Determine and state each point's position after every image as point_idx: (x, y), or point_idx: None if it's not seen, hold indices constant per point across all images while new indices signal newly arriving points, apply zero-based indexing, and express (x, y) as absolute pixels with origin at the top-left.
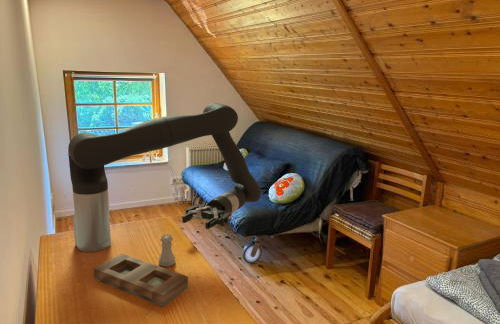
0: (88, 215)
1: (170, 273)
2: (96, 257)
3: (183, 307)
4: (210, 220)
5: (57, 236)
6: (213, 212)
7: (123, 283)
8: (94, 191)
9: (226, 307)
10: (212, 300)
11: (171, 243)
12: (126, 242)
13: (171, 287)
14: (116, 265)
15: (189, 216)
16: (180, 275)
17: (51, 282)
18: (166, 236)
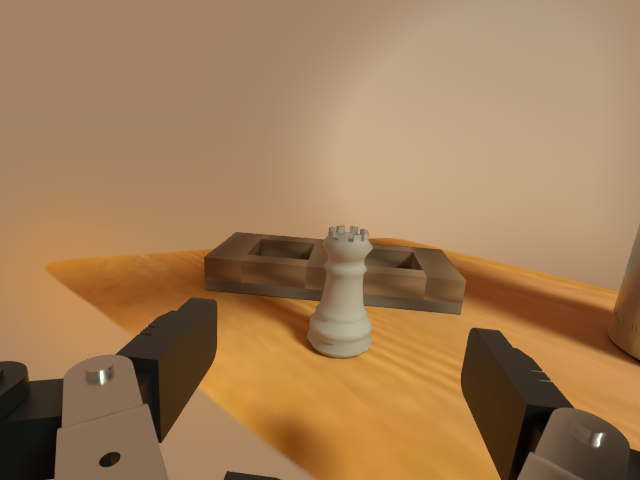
0: None
1: (258, 257)
2: (557, 318)
3: (193, 262)
4: (174, 318)
5: None
6: (160, 457)
7: None
8: None
9: (87, 270)
10: (126, 276)
11: (332, 269)
12: None
13: (229, 239)
14: (416, 263)
15: (498, 404)
16: (226, 257)
17: (488, 264)
18: (352, 236)
